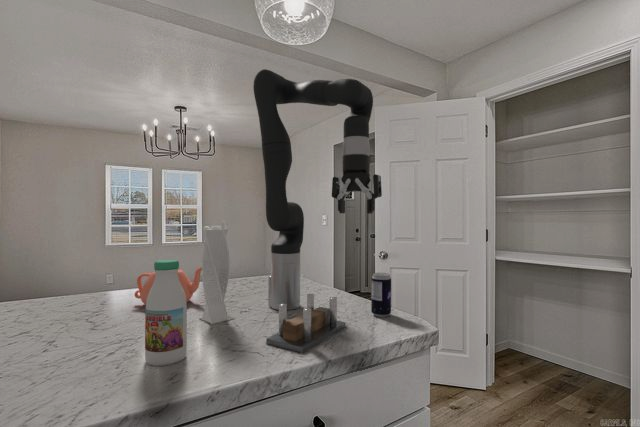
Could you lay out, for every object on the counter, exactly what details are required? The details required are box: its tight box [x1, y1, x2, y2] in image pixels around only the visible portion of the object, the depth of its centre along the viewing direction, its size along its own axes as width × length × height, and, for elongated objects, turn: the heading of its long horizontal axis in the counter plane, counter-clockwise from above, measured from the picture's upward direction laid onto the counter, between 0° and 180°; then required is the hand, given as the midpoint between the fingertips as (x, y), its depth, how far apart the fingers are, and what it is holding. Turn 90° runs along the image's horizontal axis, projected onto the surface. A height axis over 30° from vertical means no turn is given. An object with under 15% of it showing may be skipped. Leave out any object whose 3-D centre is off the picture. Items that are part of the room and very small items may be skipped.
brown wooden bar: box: [283, 306, 330, 341], centre depth 84 cm, size 16×4×4 cm, turn 149°
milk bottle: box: [144, 259, 188, 367], centre depth 70 cm, size 8×8×20 cm
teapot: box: [134, 266, 202, 306], centre depth 112 cm, size 22×16×12 cm
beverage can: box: [370, 272, 392, 318], centre depth 101 cm, size 6×6×12 cm
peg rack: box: [265, 293, 347, 354], centre depth 84 cm, size 10×20×8 cm, turn 149°
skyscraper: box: [199, 219, 235, 326], centre depth 95 cm, size 8×8×28 cm
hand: (355, 213), depth 95 cm, fingers open, 8 cm apart
